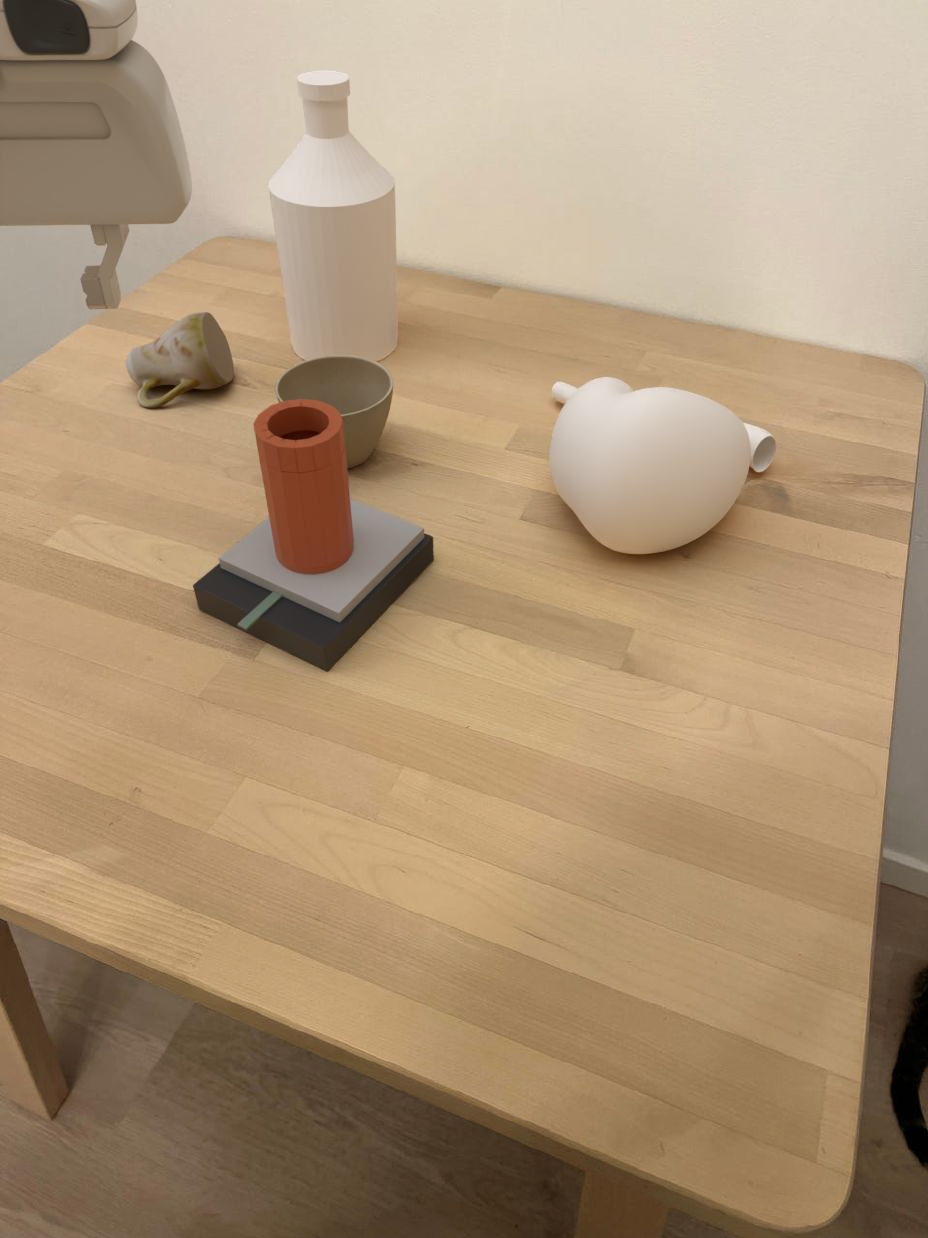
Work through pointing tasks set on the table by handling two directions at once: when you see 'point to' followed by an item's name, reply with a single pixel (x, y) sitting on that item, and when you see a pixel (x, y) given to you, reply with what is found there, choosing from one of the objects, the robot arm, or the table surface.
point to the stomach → (650, 462)
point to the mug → (182, 359)
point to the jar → (306, 484)
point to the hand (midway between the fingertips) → (13, 307)
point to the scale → (316, 587)
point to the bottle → (335, 232)
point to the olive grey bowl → (344, 396)
